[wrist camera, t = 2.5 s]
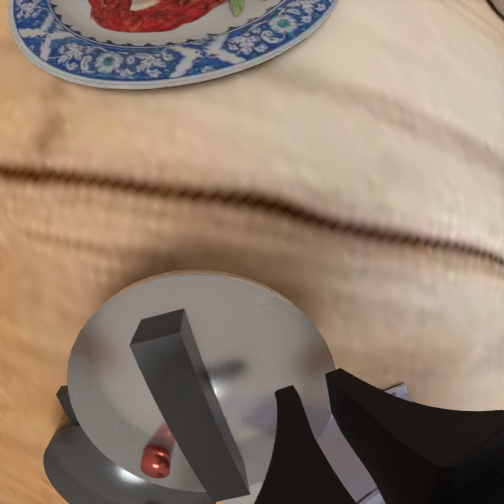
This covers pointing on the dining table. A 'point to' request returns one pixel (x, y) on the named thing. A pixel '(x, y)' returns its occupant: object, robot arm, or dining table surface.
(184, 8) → the ceramic plate
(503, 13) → the plastic bottle
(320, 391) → the cooker lid
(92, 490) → the cooker body
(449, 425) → the robot arm
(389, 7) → the dining table surface
